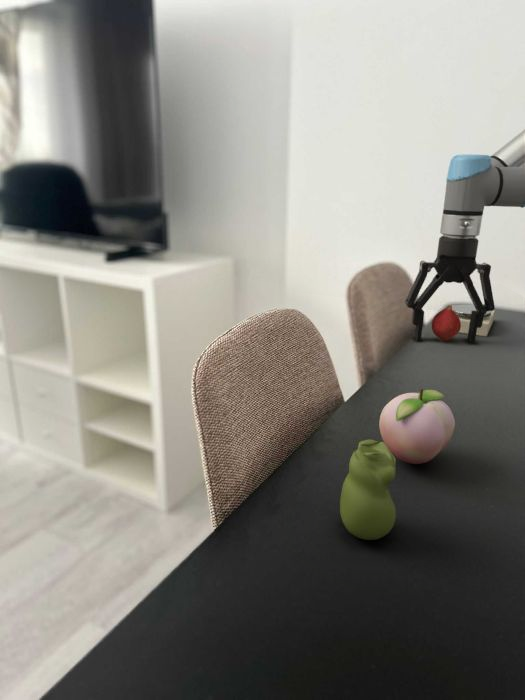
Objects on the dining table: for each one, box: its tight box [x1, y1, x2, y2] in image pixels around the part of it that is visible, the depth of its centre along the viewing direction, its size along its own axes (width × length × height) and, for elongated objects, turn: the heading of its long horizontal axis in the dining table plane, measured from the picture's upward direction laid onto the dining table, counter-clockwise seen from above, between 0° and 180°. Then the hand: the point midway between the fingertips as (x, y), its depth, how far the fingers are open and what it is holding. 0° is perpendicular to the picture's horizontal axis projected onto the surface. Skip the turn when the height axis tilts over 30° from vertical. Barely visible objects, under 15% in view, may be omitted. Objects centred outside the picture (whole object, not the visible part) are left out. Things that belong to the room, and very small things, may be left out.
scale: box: [458, 303, 496, 337], centre depth 122 cm, size 14×10×4 cm
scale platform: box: [451, 303, 491, 317], centre depth 120 cm, size 9×9×1 cm
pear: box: [339, 438, 397, 541], centre depth 49 cm, size 6×5×10 cm
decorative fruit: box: [378, 388, 456, 465], centre depth 62 cm, size 9×8×10 cm
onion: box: [431, 305, 461, 342], centre depth 109 cm, size 6×6×8 cm
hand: (443, 340), depth 110 cm, fingers open, 11 cm apart
